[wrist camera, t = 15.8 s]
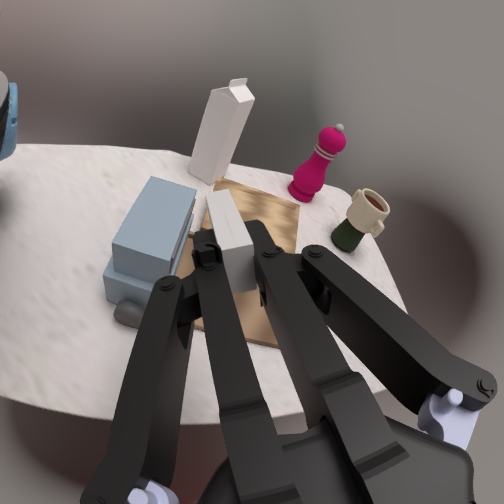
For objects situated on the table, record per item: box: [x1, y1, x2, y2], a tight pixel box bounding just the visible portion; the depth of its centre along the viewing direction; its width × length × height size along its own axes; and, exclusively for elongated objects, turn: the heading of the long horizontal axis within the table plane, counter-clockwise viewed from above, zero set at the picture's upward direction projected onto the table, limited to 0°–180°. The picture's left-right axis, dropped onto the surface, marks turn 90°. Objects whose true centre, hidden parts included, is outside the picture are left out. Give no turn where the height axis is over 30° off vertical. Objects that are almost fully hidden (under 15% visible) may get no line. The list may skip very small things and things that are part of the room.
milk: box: [188, 78, 255, 185], centre depth 49 cm, size 6×6×22 cm
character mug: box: [332, 188, 390, 251], centre depth 54 cm, size 11×7×13 cm, turn 14°
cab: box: [103, 176, 197, 328], centre depth 34 cm, size 8×19×12 cm, turn 174°
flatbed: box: [175, 231, 279, 348], centre depth 41 cm, size 18×15×2 cm
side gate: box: [200, 176, 300, 254], centre depth 48 cm, size 16×2×11 cm
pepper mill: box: [289, 124, 346, 202], centre depth 57 cm, size 7×7×20 cm
